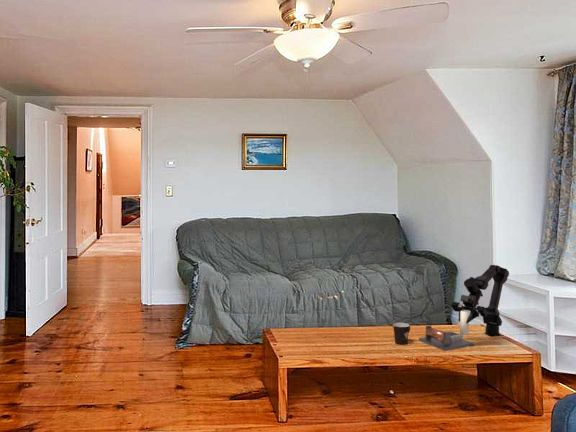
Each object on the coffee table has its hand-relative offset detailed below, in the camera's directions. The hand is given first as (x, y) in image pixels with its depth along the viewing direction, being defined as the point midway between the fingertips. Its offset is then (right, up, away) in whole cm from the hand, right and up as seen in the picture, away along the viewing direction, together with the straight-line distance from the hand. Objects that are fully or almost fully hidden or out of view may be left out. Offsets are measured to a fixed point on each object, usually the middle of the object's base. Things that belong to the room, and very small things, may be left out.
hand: (463, 322), depth 273 cm
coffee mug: (-29, -13, +9) cm, 33 cm away
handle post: (+1, -7, +1) cm, 7 cm away
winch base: (-7, -13, +8) cm, 17 cm away
